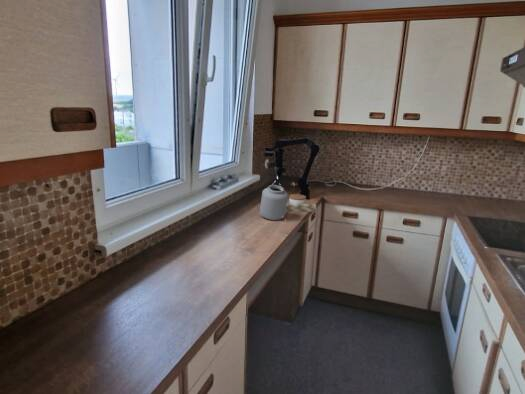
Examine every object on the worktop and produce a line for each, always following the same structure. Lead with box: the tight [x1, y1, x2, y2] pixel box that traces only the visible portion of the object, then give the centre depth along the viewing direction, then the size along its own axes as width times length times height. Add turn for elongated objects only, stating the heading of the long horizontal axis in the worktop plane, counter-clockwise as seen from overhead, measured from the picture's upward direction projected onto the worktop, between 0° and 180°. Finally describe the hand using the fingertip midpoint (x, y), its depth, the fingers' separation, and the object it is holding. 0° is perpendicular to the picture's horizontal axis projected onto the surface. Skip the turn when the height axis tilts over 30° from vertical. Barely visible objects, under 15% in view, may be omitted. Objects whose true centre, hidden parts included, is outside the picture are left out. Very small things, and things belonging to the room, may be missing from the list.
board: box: [285, 203, 317, 213], centre depth 220 cm, size 20×3×4 cm, turn 100°
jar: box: [259, 175, 289, 221], centre depth 201 cm, size 19×15×25 cm
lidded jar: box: [288, 193, 307, 204], centre depth 226 cm, size 11×11×9 cm
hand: (278, 179), depth 253 cm, fingers closed
